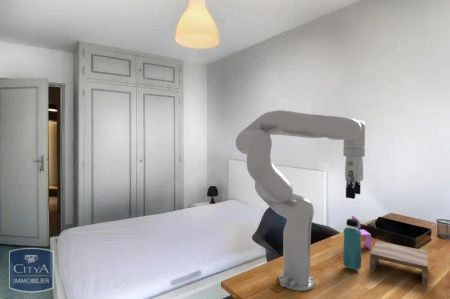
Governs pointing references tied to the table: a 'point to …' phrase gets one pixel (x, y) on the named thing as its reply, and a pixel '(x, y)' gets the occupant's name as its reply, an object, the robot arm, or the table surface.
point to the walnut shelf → (400, 257)
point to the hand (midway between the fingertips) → (353, 195)
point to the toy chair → (364, 234)
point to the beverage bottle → (352, 245)
